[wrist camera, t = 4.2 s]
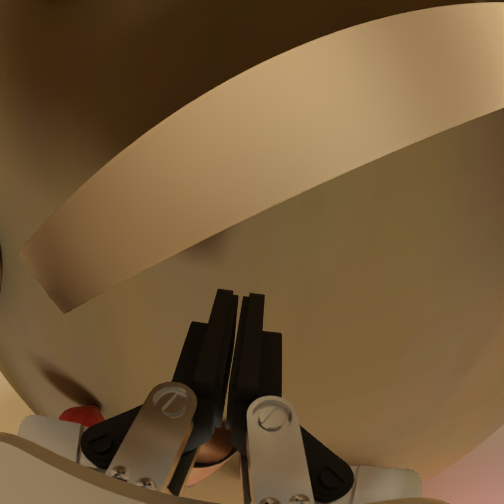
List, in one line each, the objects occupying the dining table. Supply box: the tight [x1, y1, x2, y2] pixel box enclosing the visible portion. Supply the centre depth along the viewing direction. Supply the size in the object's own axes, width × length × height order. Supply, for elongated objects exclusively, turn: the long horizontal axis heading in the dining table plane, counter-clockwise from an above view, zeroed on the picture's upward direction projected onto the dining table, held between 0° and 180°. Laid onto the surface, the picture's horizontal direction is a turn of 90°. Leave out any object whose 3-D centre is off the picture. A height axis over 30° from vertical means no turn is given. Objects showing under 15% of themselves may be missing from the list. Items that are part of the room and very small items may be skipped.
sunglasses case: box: [185, 423, 238, 488], centre depth 25 cm, size 18×7×7 cm
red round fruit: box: [59, 405, 105, 427], centre depth 20 cm, size 6×6×8 cm
